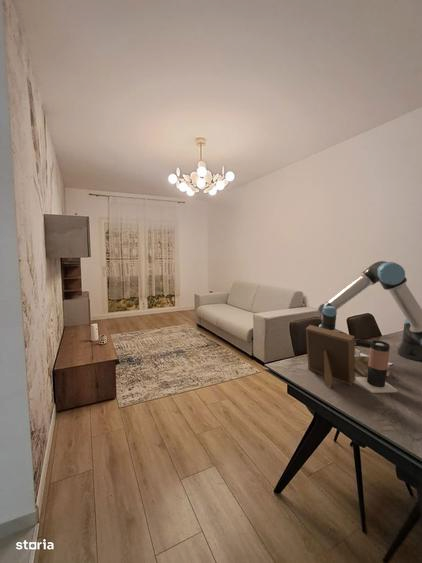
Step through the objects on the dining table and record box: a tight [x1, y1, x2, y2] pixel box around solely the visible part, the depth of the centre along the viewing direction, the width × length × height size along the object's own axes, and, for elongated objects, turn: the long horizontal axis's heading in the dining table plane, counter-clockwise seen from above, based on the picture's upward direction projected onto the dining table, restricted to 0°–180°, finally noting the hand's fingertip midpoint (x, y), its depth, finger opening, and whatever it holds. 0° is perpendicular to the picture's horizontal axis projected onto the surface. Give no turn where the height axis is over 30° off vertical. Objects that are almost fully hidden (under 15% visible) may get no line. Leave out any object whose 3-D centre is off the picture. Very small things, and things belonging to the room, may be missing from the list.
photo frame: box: [305, 324, 356, 389], centre depth 126 cm, size 15×22×25 cm
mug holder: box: [355, 355, 391, 377], centre depth 137 cm, size 13×13×5 cm
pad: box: [355, 376, 398, 394], centre depth 122 cm, size 12×12×1 cm
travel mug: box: [366, 340, 391, 387], centre depth 121 cm, size 8×8×20 cm
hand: (371, 352), depth 124 cm, fingers open, 13 cm apart
